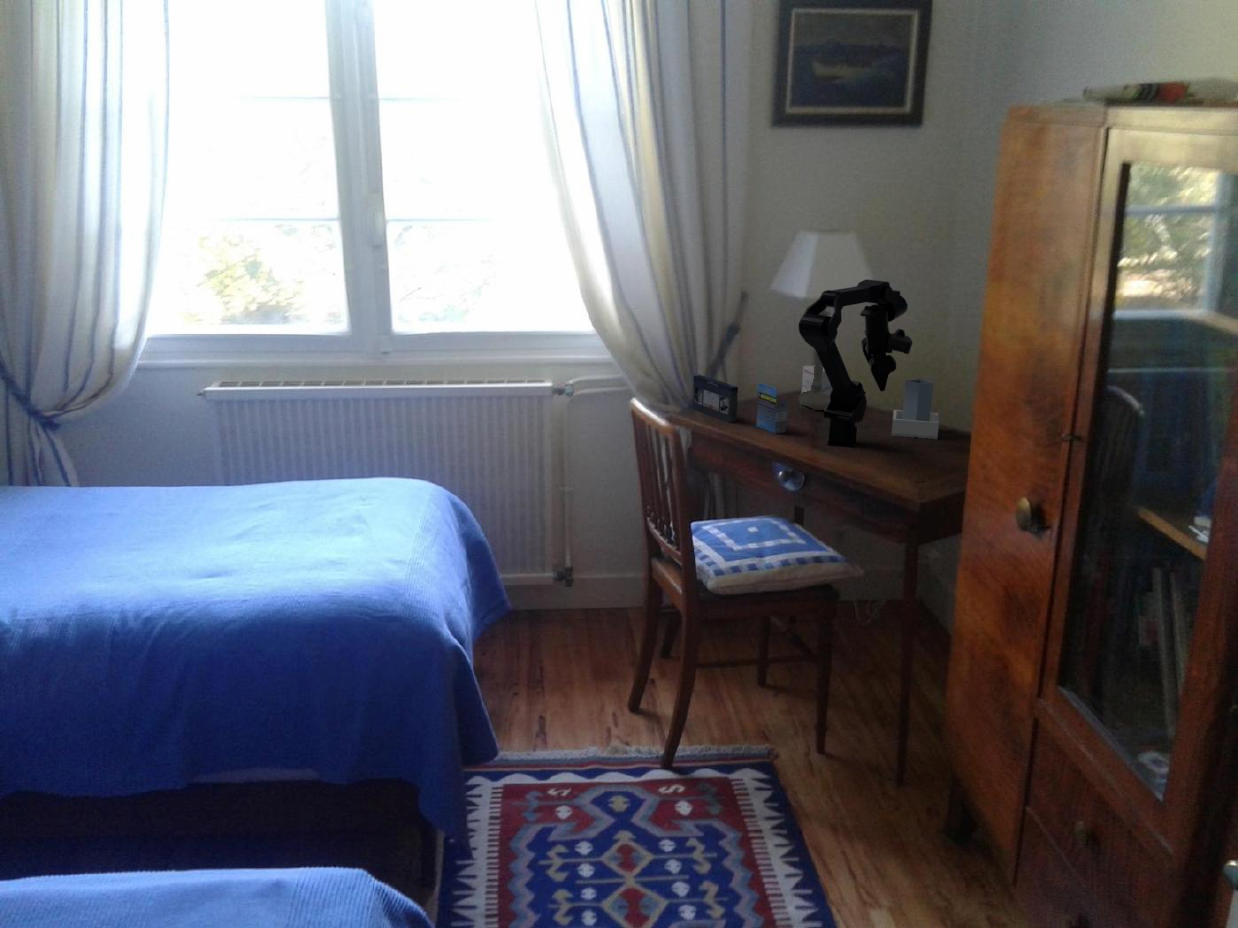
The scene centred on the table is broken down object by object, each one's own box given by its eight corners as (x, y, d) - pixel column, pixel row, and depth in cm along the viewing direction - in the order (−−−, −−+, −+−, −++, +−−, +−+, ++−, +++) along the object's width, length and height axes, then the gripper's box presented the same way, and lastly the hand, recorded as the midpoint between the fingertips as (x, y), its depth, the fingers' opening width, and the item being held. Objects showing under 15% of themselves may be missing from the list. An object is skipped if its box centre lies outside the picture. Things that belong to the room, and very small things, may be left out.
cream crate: (891, 435, 281) (892, 419, 279) (892, 425, 291) (893, 409, 290) (937, 439, 278) (938, 423, 277) (936, 428, 289) (938, 413, 287)
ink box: (830, 410, 307) (833, 370, 304) (815, 411, 305) (818, 371, 302) (814, 404, 315) (817, 364, 311) (799, 405, 313) (802, 365, 310)
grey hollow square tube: (914, 432, 281) (919, 384, 277) (901, 428, 285) (905, 380, 282) (928, 430, 283) (933, 382, 280) (914, 426, 288) (919, 378, 284)
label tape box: (786, 432, 281) (789, 387, 278) (773, 434, 280) (776, 388, 276) (767, 425, 289) (770, 380, 286) (754, 426, 287) (757, 381, 284)
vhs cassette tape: (691, 409, 305) (693, 375, 303) (700, 408, 307) (702, 374, 304) (727, 423, 290) (729, 387, 287) (737, 422, 291) (738, 386, 289)
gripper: (916, 336, 263) (917, 394, 270) (902, 312, 280) (904, 367, 287) (870, 342, 265) (873, 399, 272) (859, 317, 281) (862, 372, 288)
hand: (879, 384), depth 279 cm, fingers open, 9 cm apart
